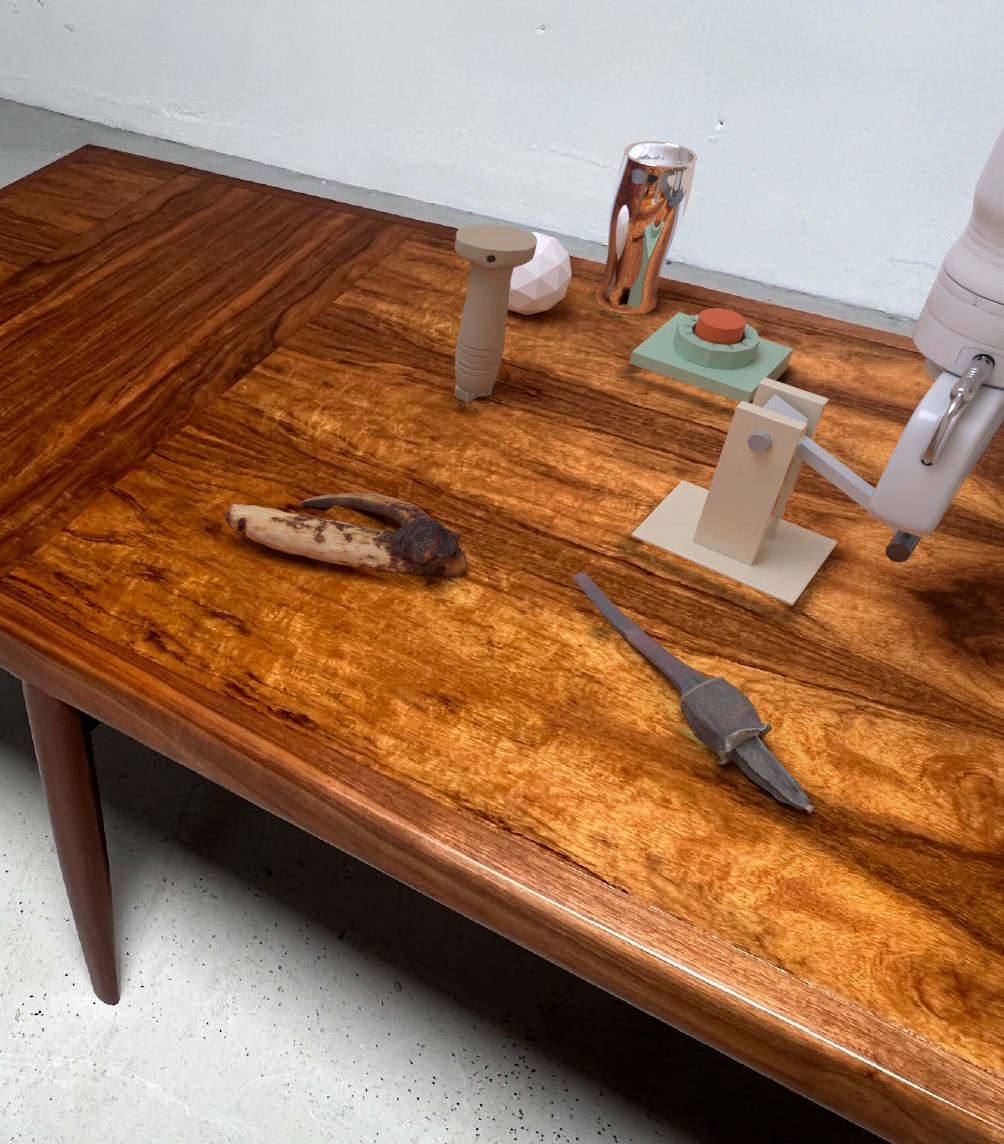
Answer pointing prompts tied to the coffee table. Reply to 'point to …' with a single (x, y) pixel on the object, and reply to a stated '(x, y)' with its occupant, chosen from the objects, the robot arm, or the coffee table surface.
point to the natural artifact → (710, 708)
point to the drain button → (720, 326)
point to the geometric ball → (540, 278)
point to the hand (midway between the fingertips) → (912, 517)
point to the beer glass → (644, 223)
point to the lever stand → (749, 502)
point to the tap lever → (843, 480)
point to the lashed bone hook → (357, 535)
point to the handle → (486, 302)
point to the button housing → (712, 359)
